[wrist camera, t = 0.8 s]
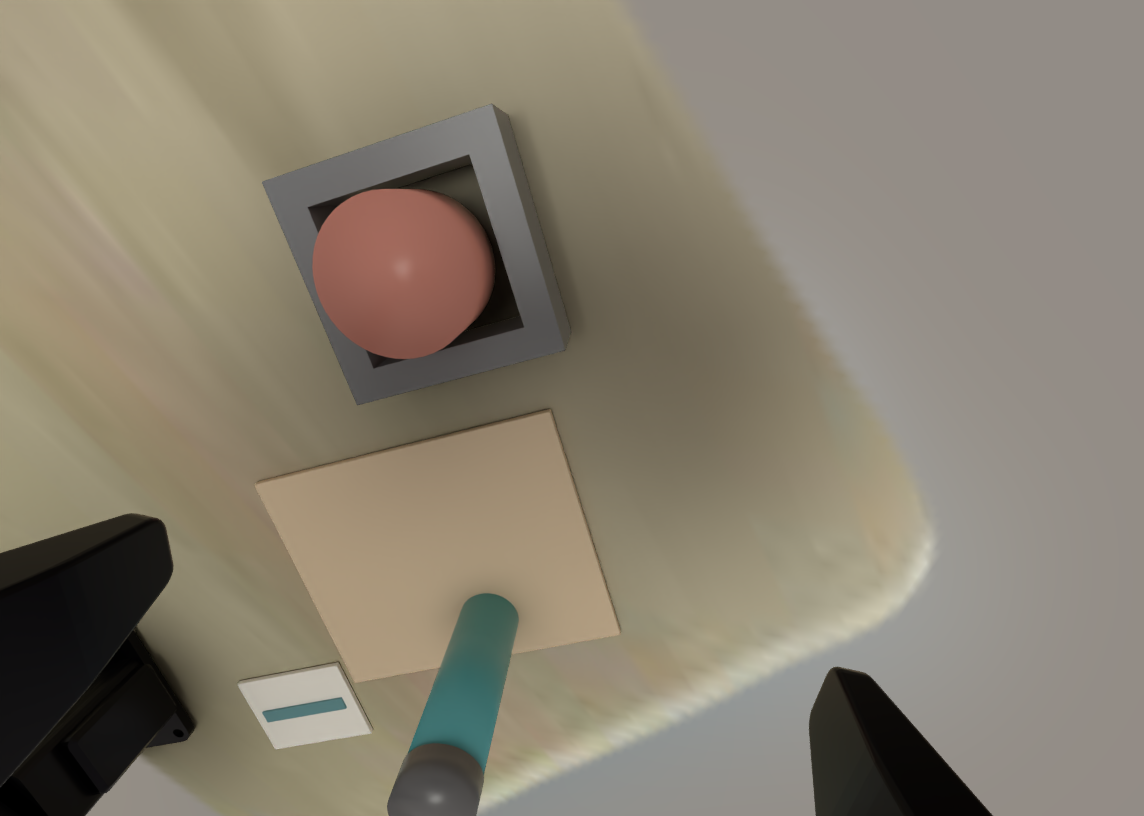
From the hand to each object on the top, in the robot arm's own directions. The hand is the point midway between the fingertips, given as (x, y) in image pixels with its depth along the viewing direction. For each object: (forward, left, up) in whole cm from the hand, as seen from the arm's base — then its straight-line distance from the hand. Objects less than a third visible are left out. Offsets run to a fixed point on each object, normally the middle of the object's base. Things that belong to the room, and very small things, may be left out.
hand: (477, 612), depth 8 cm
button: (-3, +4, -12) cm, 13 cm away
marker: (-6, -10, -13) cm, 18 cm away
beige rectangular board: (-7, -7, -14) cm, 17 cm away
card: (-16, -13, -14) cm, 25 cm away
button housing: (-3, +4, -14) cm, 15 cm away
